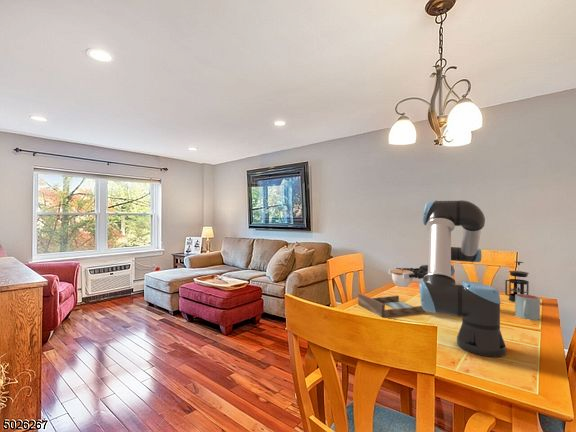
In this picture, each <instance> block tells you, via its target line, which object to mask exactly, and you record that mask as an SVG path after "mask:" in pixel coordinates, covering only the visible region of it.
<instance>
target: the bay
mask: <svg viewBox="0 0 576 432" xmlns="http://www.w3.org/2000/svg"><path fill="white" fill-rule="evenodd" d="M357 298H358V299H357V300H358V301H357V305H358V306H359V307H362V308H364V309H365V310H368V311H370V312H371V311H372V312H371V313H373V314H375V315H378V316H379V317H380V318H386V317H393V316H394V317H395V316H402V315H403V316H404V315H411V314H413V315H414V314H420V313H426V311H425V310H423V308H422V306H421V305H418V306H413V305H411V304H407V303H405V302H403V301H401V300H400V297H399V295H391V296H380V297H369V296H367V295H365V294H363V293H358V296H357ZM385 306H387V307H390V308H389V309H385ZM383 316H384V317H383Z"/></svg>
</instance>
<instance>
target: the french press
mask: <svg viewBox="0 0 576 432" xmlns="http://www.w3.org/2000/svg"><path fill="white" fill-rule="evenodd" d="M515 263H516V264H517V265H518V267H517V268H518V270H508V273H509V275H510V276H511V277H518V278H509V279H505V280H504V281H505V285H504V286H505V287H504V290H505V291H504V293H505V295H506V296H508V301H510V302H512V303H515V295H516V294H526V295H530V294H529V291H530V289H529V283H530V282H529V281H528V280H525V279H520V278H527V277H528V275H529V272H527V271H522V270H520V265H521V264H524V262H523V261H517V260H515ZM512 284H513V287H512ZM508 286H509V287H508ZM525 286H526V289H525ZM512 292H513V293H512Z"/></svg>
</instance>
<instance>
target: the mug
mask: <svg viewBox="0 0 576 432" xmlns="http://www.w3.org/2000/svg"><path fill="white" fill-rule="evenodd" d="M540 304H541V298H540V297H539V296H536V295H532V294H529V295H527V293H524V294H520V293H517V294H516V295H515V302H514V311H515V312H514V316H515V317H517V318H519V317H520V319H522V318H524V320H527V319H530V320H529V321H538V320H537V319H541V309H540V308H541V305H540Z"/></svg>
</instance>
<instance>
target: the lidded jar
mask: <svg viewBox="0 0 576 432" xmlns="http://www.w3.org/2000/svg"><path fill="white" fill-rule="evenodd" d="M400 268H401V270H392V274H391V279H392V281H393V283H394V284H395V286H397V287H401V288H408V287H409V286H410V285H411V283H412V282H413V279H414V278H407V279H403V273H413V272H412V271H409V270H403V268H404V267H400Z"/></svg>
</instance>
